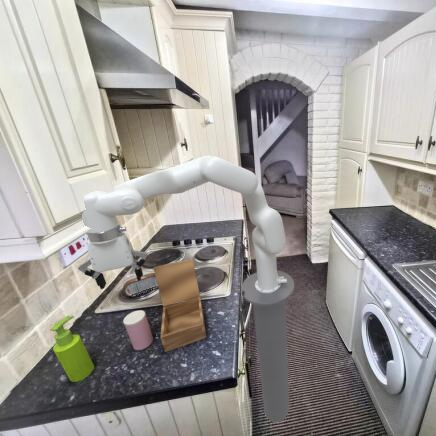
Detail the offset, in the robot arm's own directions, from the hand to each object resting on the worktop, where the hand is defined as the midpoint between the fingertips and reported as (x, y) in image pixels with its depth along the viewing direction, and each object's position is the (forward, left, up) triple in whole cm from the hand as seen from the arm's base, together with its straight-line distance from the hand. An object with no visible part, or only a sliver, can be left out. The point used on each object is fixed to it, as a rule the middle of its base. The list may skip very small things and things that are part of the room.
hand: (122, 282), depth 73 cm
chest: (-13, -5, -26) cm, 30 cm away
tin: (+14, -29, -26) cm, 42 cm away
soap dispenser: (+14, +9, -26) cm, 31 cm away
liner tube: (0, 0, -26) cm, 26 cm away
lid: (-10, -13, -11) cm, 20 cm away
